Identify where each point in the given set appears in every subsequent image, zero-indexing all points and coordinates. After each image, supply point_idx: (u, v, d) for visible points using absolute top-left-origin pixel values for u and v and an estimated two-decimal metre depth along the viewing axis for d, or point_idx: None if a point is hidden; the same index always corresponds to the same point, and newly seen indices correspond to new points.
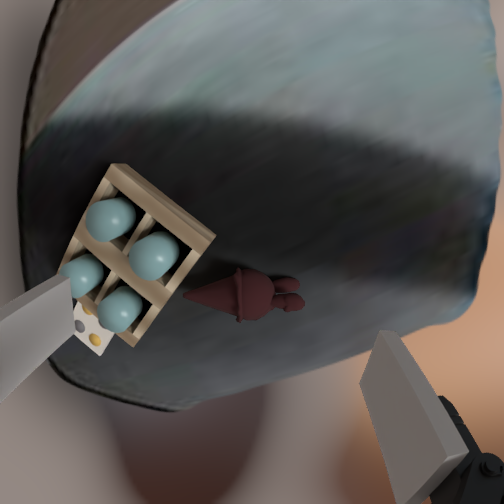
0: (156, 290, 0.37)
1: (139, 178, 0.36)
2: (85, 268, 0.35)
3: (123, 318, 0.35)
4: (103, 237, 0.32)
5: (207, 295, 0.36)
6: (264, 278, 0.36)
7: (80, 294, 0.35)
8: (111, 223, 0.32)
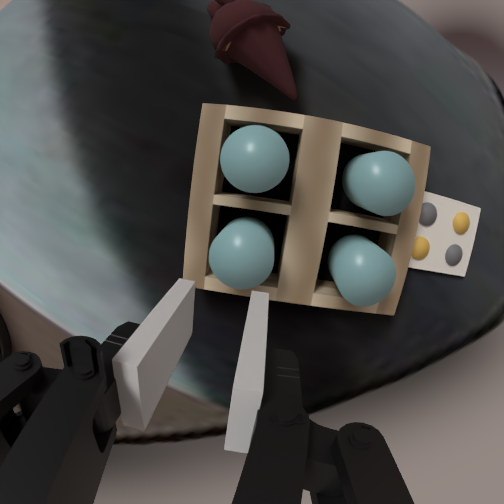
0: (316, 138, 0.23)
1: None
2: (338, 261, 0.23)
3: (378, 162, 0.20)
4: (262, 245, 0.22)
5: (269, 65, 0.21)
6: (210, 26, 0.21)
7: (382, 254, 0.21)
8: (233, 241, 0.22)
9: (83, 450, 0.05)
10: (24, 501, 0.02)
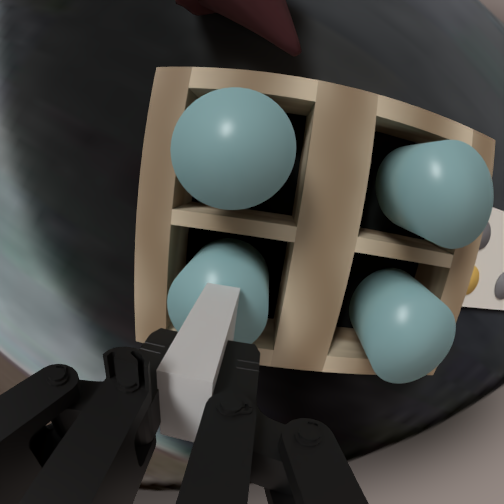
0: (337, 117, 0.13)
1: None
2: (372, 319, 0.13)
3: (445, 159, 0.10)
4: (249, 291, 0.14)
5: (255, 4, 0.11)
6: None
7: (441, 309, 0.12)
8: (203, 283, 0.14)
9: (123, 466, 0.05)
10: None
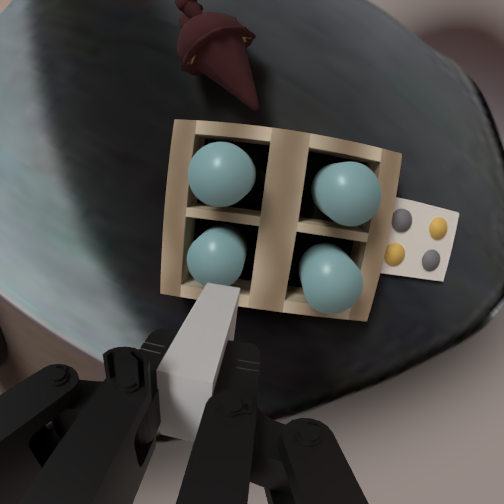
0: (283, 150, 0.24)
1: None
2: (305, 270, 0.24)
3: (342, 173, 0.21)
4: (232, 250, 0.25)
5: (231, 77, 0.22)
6: None
7: (348, 264, 0.23)
8: (207, 246, 0.25)
9: (123, 466, 0.05)
10: None
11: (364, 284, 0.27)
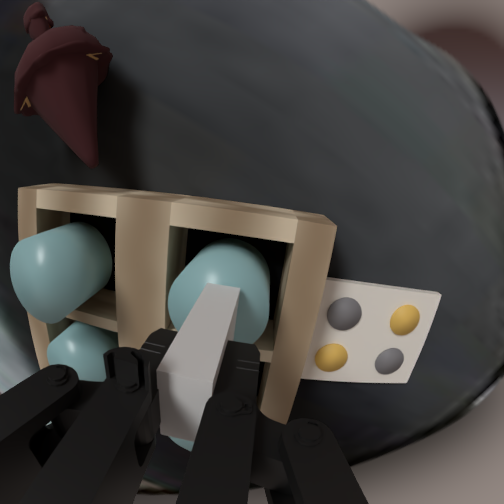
0: (134, 231, 0.15)
1: None
2: None
3: (199, 280, 0.14)
4: (86, 361, 0.16)
5: (59, 123, 0.13)
6: None
7: None
8: (62, 352, 0.16)
9: (123, 466, 0.05)
10: None
11: (271, 409, 0.18)
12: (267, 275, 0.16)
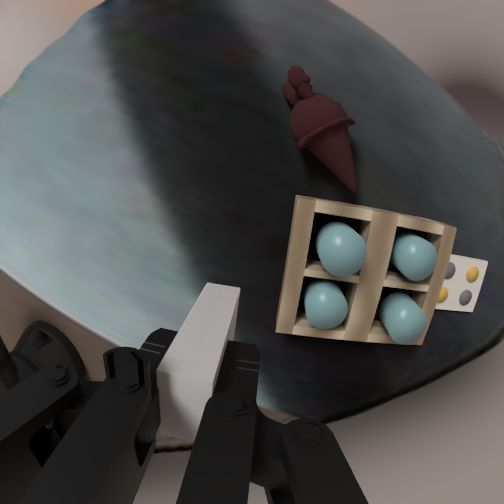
0: (379, 228, 0.31)
1: (280, 297, 0.37)
2: (390, 316, 0.31)
3: (415, 248, 0.30)
4: (341, 302, 0.32)
5: (339, 164, 0.29)
6: (290, 117, 0.29)
7: (419, 311, 0.30)
8: (323, 300, 0.33)
9: (123, 466, 0.05)
10: None
11: None
12: None
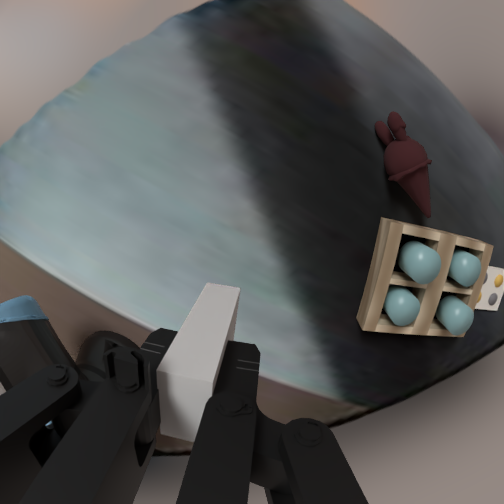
0: (444, 246, 0.37)
1: (364, 301, 0.43)
2: (449, 313, 0.37)
3: (467, 261, 0.36)
4: (416, 304, 0.38)
5: (421, 196, 0.35)
6: (388, 154, 0.35)
7: (469, 310, 0.35)
8: (404, 302, 0.38)
9: (123, 466, 0.05)
10: None
11: None
12: None
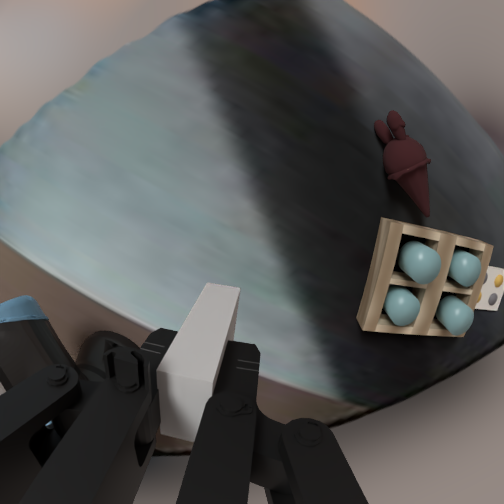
0: (444, 246, 0.37)
1: (364, 301, 0.43)
2: (449, 313, 0.37)
3: (467, 261, 0.36)
4: (416, 304, 0.38)
5: (420, 195, 0.35)
6: (387, 153, 0.35)
7: (469, 310, 0.35)
8: (404, 302, 0.38)
9: (123, 466, 0.05)
10: None
11: None
12: None
